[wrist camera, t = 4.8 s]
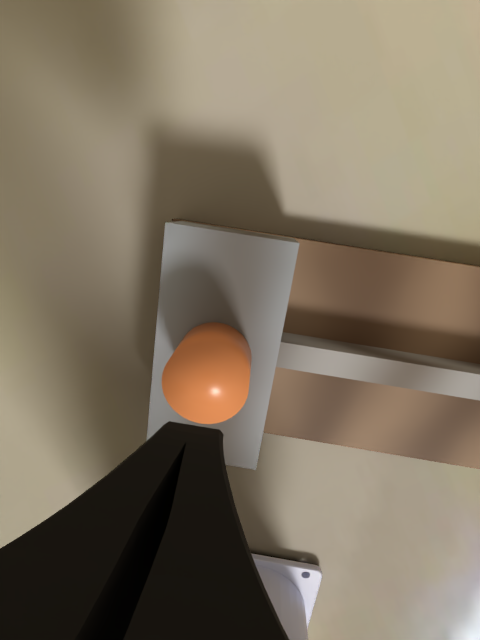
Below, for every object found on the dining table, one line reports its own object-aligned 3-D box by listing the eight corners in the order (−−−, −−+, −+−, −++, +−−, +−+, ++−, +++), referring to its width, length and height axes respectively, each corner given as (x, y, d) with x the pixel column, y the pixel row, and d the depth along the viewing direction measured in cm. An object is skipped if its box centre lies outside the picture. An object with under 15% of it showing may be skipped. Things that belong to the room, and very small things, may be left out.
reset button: (175, 384, 15) (158, 416, 13) (182, 316, 14) (165, 337, 12) (245, 396, 15) (241, 430, 13) (257, 328, 14) (255, 351, 12)
